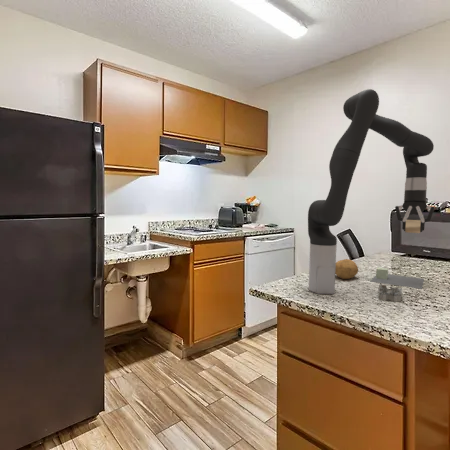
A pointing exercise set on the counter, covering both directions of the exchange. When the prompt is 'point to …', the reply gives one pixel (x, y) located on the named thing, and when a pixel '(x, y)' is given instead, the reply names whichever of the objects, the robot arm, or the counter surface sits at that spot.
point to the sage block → (382, 273)
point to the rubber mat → (401, 281)
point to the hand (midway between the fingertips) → (413, 231)
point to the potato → (346, 269)
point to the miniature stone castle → (389, 293)
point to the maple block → (413, 226)
